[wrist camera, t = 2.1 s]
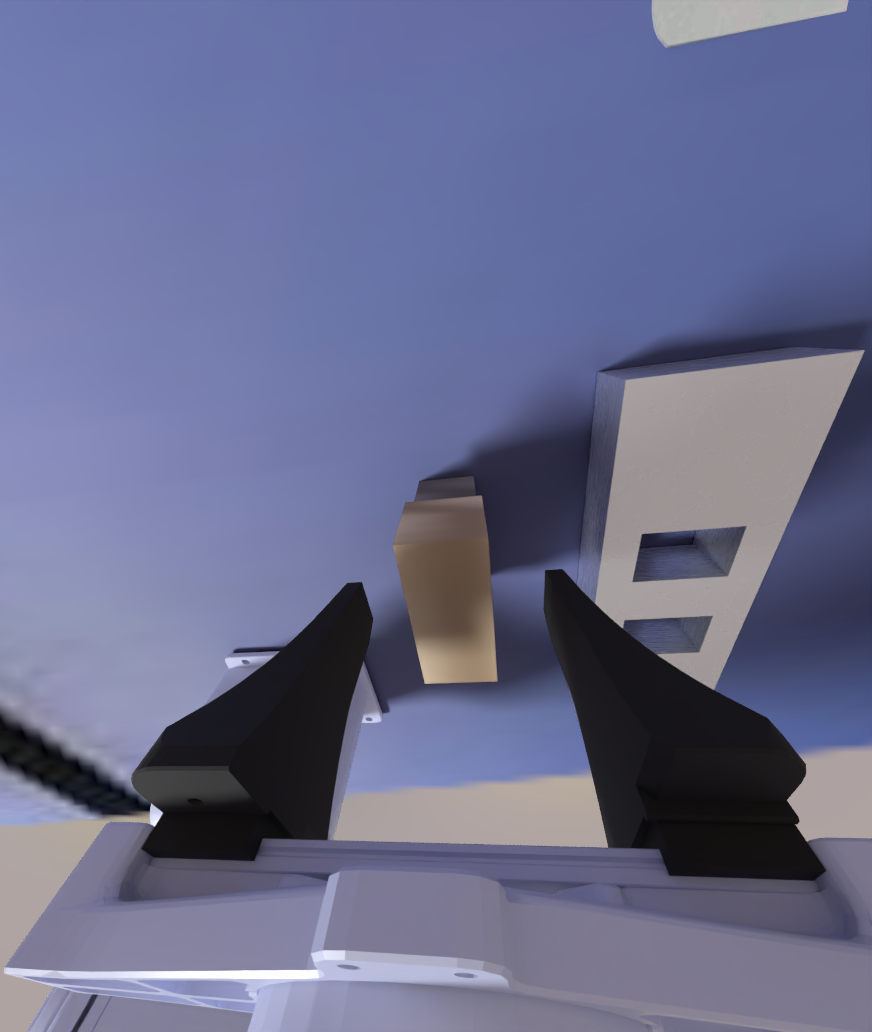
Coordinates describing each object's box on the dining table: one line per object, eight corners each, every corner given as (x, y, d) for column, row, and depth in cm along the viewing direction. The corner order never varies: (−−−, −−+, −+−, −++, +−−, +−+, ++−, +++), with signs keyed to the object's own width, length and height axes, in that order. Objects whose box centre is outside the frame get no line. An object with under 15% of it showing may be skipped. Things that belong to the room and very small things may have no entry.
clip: (433, 586, 19) (424, 683, 14) (413, 474, 16) (392, 545, 10) (485, 583, 19) (497, 681, 13) (477, 467, 15) (488, 537, 10)
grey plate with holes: (566, 685, 23) (578, 723, 20) (597, 372, 13) (625, 380, 11) (675, 682, 22) (699, 720, 20) (792, 346, 12) (864, 349, 10)
